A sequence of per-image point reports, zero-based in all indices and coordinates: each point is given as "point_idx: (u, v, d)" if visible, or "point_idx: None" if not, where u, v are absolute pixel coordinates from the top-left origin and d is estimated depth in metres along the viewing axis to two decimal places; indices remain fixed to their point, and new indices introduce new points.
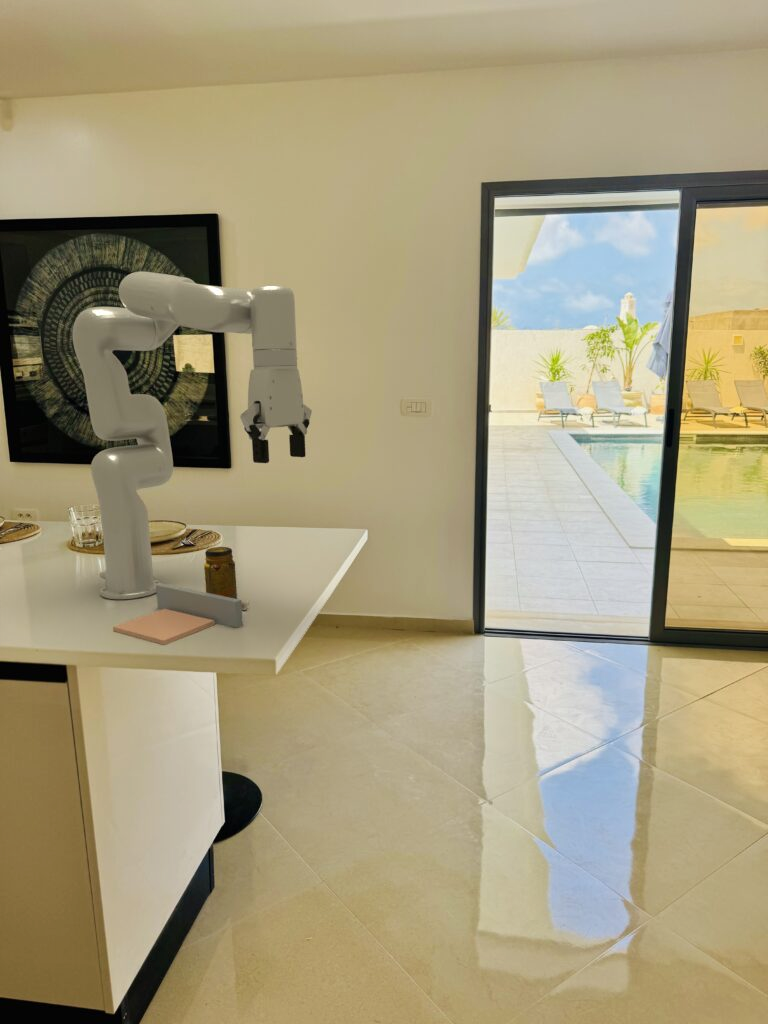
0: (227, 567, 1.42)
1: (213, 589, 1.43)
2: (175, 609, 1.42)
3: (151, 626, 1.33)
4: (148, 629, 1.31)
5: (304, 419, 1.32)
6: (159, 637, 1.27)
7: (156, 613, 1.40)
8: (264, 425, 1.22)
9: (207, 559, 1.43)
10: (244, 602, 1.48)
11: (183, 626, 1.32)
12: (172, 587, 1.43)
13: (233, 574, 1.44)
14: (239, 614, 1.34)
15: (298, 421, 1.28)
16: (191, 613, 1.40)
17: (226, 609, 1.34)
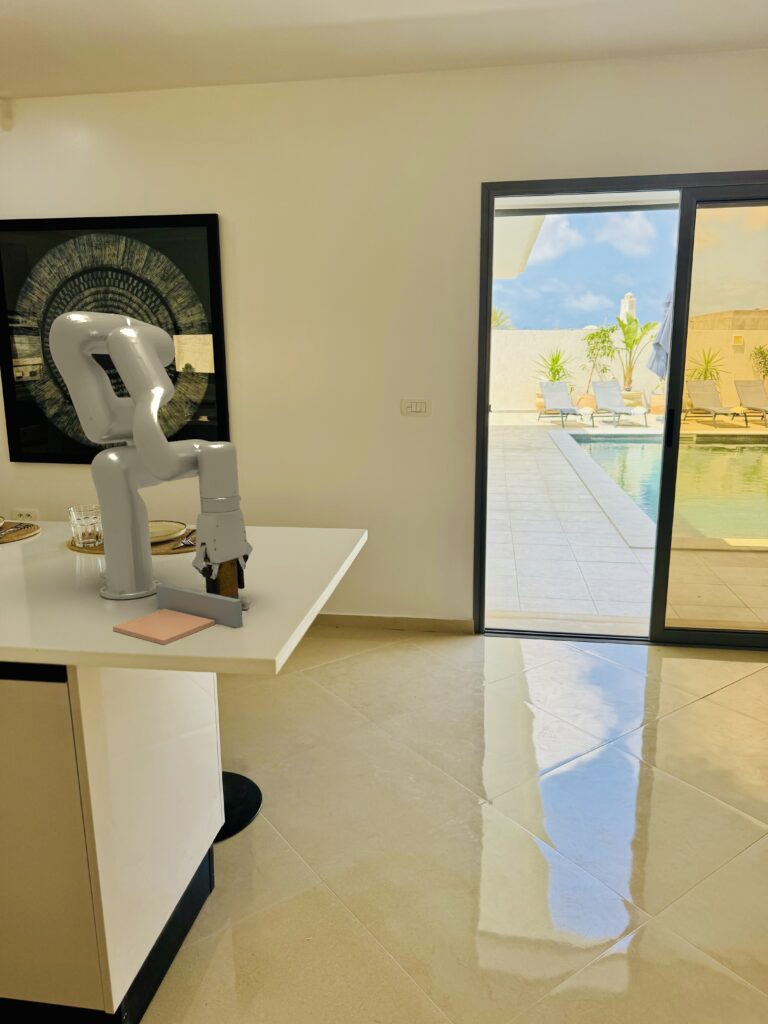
0: (228, 566, 1.43)
1: None
2: (175, 609, 1.42)
3: (151, 626, 1.33)
4: (148, 629, 1.31)
5: (243, 554, 1.48)
6: (159, 637, 1.27)
7: (156, 613, 1.40)
8: (213, 566, 1.41)
9: None
10: (245, 602, 1.48)
11: (183, 626, 1.32)
12: (172, 587, 1.43)
13: (235, 573, 1.44)
14: (239, 614, 1.34)
15: (241, 554, 1.46)
16: (191, 613, 1.40)
17: (226, 609, 1.34)
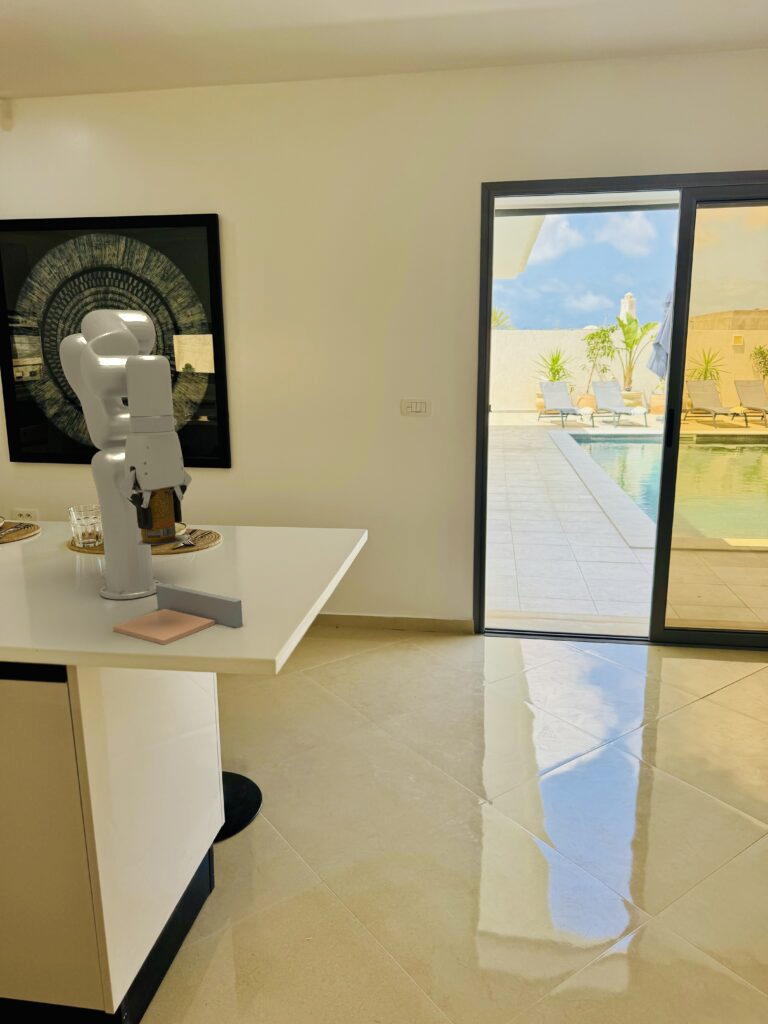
0: (163, 495, 1.29)
1: None
2: (175, 609, 1.42)
3: (151, 626, 1.33)
4: (148, 629, 1.31)
5: (181, 485, 1.34)
6: (159, 637, 1.27)
7: (156, 613, 1.40)
8: (144, 493, 1.26)
9: None
10: (183, 537, 1.34)
11: (183, 626, 1.32)
12: (172, 587, 1.43)
13: (170, 504, 1.30)
14: (239, 614, 1.34)
15: (178, 483, 1.32)
16: (191, 613, 1.40)
17: (226, 609, 1.34)
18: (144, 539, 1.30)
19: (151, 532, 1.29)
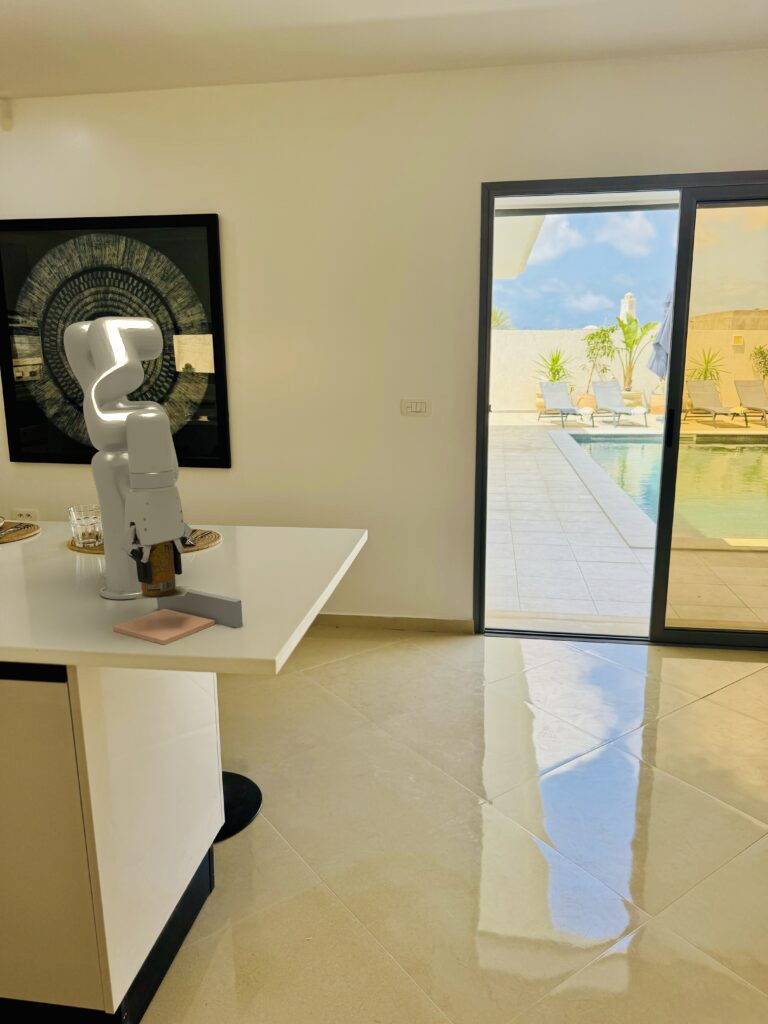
0: (162, 549, 1.30)
1: None
2: (175, 609, 1.42)
3: (151, 626, 1.33)
4: (148, 629, 1.31)
5: (181, 537, 1.35)
6: (159, 637, 1.27)
7: (156, 613, 1.40)
8: (144, 548, 1.27)
9: None
10: (183, 589, 1.35)
11: (183, 626, 1.32)
12: None
13: (170, 557, 1.31)
14: (239, 614, 1.34)
15: (178, 536, 1.33)
16: (191, 613, 1.40)
17: (226, 609, 1.34)
18: (144, 592, 1.31)
19: (151, 586, 1.30)
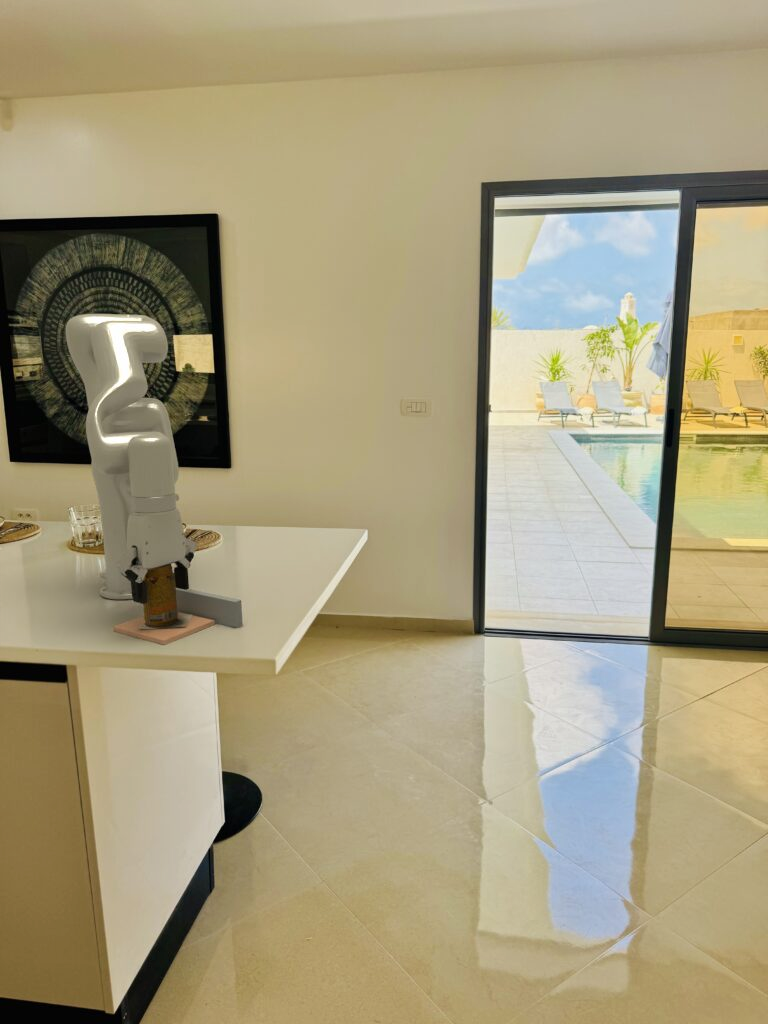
0: (165, 580, 1.31)
1: (150, 604, 1.31)
2: None
3: None
4: (148, 629, 1.31)
5: (188, 552, 1.37)
6: (159, 637, 1.27)
7: None
8: (141, 568, 1.28)
9: None
10: (185, 618, 1.37)
11: (183, 626, 1.32)
12: None
13: (172, 587, 1.33)
14: (239, 614, 1.34)
15: (179, 558, 1.33)
16: (191, 613, 1.40)
17: (226, 609, 1.34)
18: (147, 622, 1.33)
19: (153, 616, 1.32)
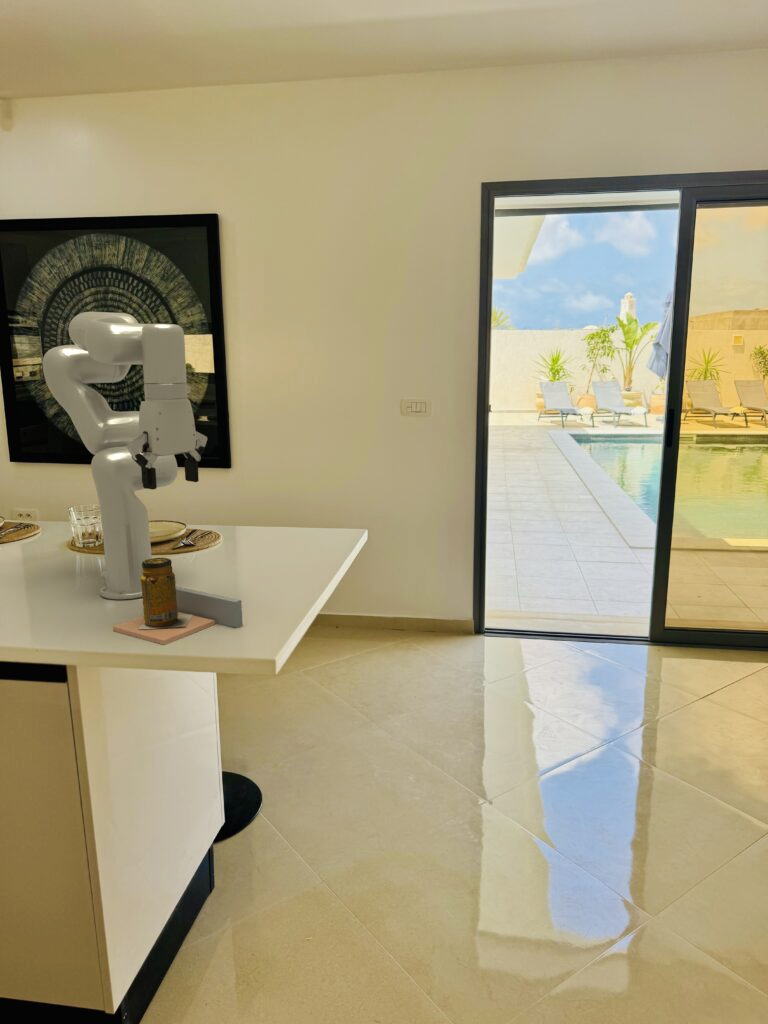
0: (165, 580, 1.31)
1: (150, 604, 1.31)
2: None
3: None
4: (148, 629, 1.31)
5: (199, 446, 1.40)
6: (159, 637, 1.27)
7: None
8: (151, 454, 1.30)
9: (143, 571, 1.31)
10: (185, 618, 1.37)
11: (183, 626, 1.32)
12: None
13: (172, 587, 1.33)
14: (239, 614, 1.34)
15: (189, 449, 1.36)
16: (191, 613, 1.40)
17: (226, 609, 1.34)
18: (147, 622, 1.33)
19: (153, 616, 1.32)
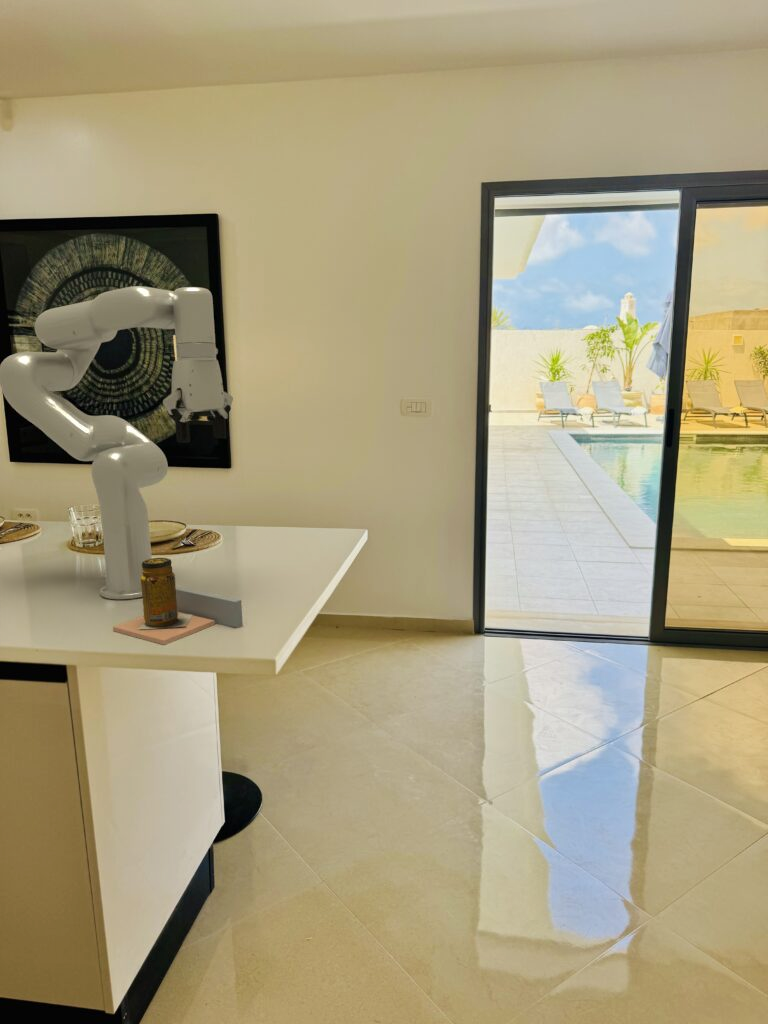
0: (164, 580, 1.31)
1: (150, 604, 1.31)
2: None
3: None
4: (148, 629, 1.31)
5: (226, 405, 1.49)
6: (159, 637, 1.27)
7: None
8: (185, 409, 1.39)
9: (143, 571, 1.31)
10: (185, 618, 1.37)
11: (183, 626, 1.32)
12: None
13: (172, 587, 1.33)
14: (239, 614, 1.34)
15: (218, 406, 1.45)
16: (191, 613, 1.40)
17: (226, 609, 1.34)
18: (147, 622, 1.33)
19: (153, 616, 1.32)
